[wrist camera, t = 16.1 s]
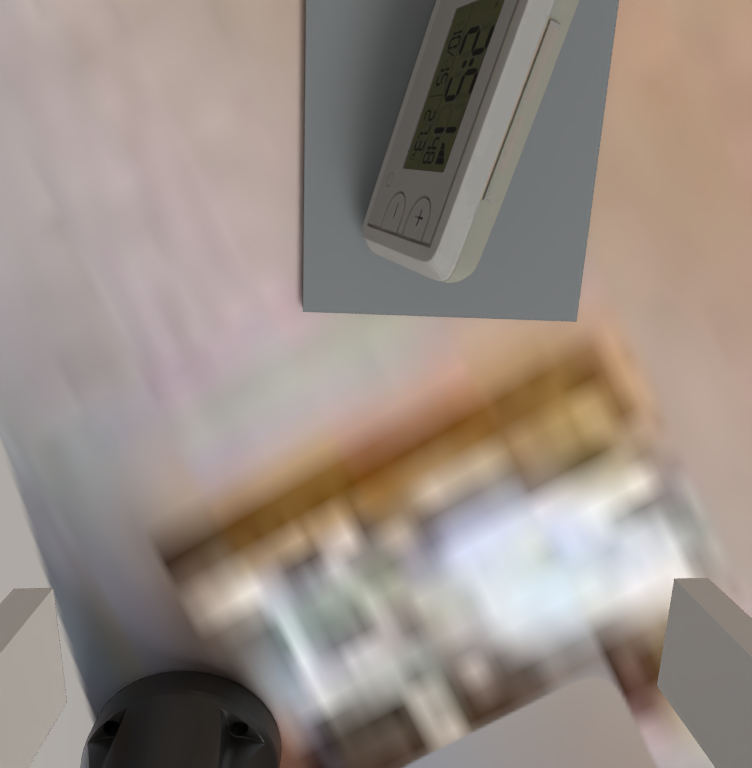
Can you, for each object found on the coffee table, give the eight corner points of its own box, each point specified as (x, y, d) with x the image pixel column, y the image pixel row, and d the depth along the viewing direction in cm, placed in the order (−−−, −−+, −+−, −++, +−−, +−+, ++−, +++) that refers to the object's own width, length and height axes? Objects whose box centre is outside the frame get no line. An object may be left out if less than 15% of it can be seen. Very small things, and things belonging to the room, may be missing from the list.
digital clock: (457, -40, 33) (503, -156, 23) (585, 52, 35) (682, -18, 25) (316, 217, 37) (302, 216, 26) (439, 291, 38) (471, 317, 28)
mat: (572, 319, 40) (576, 321, 39) (303, 309, 39) (302, 311, 38) (621, -60, 34) (627, -66, 33) (307, -81, 33) (306, -88, 32)
